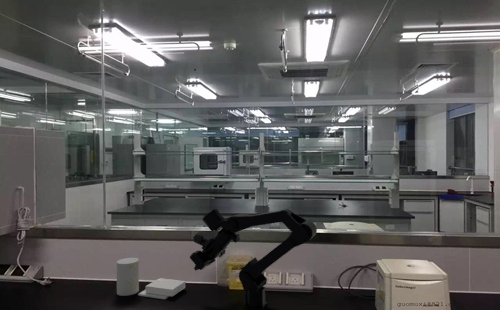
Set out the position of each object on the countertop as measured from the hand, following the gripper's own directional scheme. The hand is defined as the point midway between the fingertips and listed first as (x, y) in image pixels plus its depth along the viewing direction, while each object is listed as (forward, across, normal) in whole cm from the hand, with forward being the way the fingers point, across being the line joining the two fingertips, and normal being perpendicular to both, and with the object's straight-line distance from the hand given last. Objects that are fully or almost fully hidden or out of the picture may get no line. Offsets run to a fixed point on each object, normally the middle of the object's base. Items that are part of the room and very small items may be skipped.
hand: (195, 269), depth 120 cm
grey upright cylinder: (+27, +4, -13) cm, 30 cm away
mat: (+18, +1, -4) cm, 18 cm away
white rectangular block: (+11, 0, 0) cm, 11 cm away
